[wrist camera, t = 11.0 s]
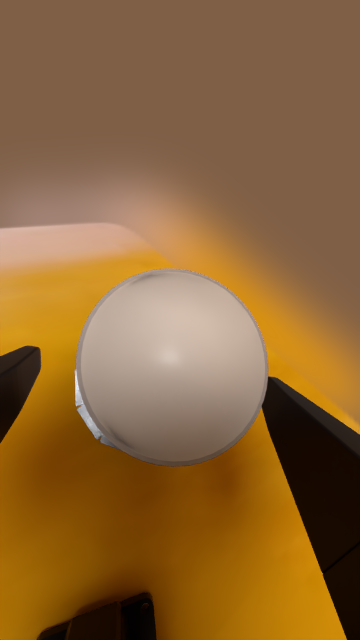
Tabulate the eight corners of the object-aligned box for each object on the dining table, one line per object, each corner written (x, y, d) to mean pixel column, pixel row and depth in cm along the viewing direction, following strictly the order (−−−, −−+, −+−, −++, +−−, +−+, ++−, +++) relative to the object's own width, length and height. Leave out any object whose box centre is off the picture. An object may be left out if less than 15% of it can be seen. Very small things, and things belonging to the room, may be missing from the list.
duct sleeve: (161, 425, 17) (246, 497, 5) (97, 402, 17) (30, 422, 5) (183, 362, 19) (280, 309, 7) (126, 339, 19) (129, 241, 7)
